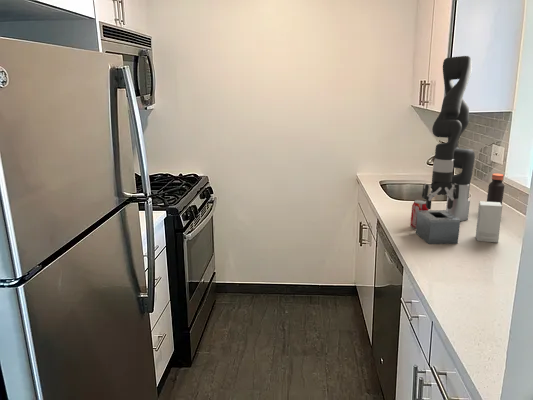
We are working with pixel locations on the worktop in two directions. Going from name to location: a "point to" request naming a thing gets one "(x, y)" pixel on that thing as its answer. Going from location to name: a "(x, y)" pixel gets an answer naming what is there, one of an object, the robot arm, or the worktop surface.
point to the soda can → (415, 207)
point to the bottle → (496, 189)
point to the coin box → (437, 227)
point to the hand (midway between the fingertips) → (438, 208)
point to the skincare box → (488, 221)
